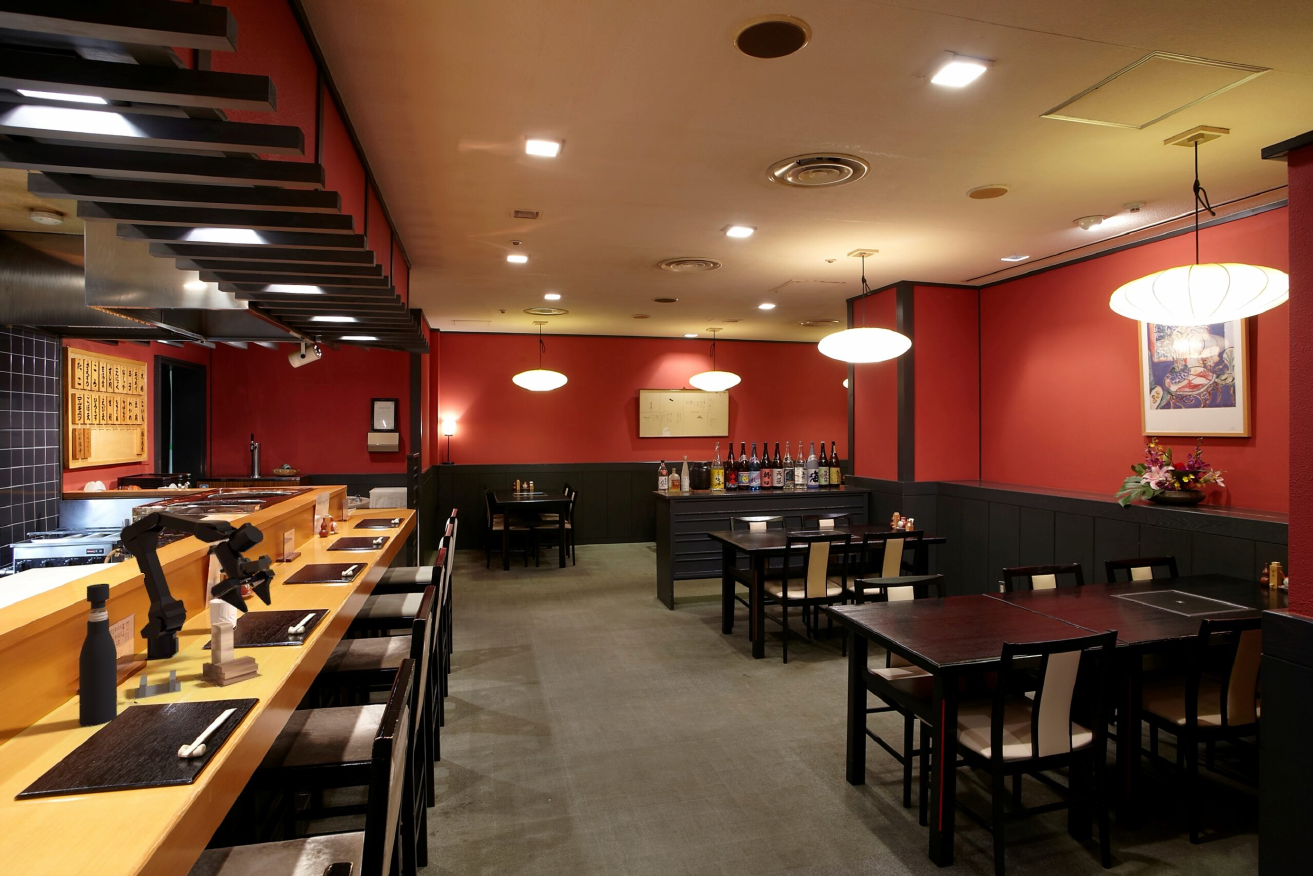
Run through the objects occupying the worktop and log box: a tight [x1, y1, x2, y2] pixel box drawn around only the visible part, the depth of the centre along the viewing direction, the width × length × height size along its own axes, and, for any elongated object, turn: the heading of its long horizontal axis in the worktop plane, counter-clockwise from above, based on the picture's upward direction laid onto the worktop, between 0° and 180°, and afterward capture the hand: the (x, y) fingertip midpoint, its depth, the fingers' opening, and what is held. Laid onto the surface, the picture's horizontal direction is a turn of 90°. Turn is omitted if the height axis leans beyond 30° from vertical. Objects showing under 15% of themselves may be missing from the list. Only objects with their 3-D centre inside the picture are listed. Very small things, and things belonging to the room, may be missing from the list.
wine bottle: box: [78, 583, 118, 727], centre depth 148 cm, size 6×6×30 cm
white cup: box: [208, 598, 238, 628], centre depth 218 cm, size 8×8×10 cm
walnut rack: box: [194, 662, 263, 688], centre depth 173 cm, size 14×10×4 cm
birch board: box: [210, 622, 235, 664], centre depth 174 cm, size 5×3×13 cm, turn 59°
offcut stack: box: [214, 655, 259, 685], centre depth 171 cm, size 5×8×4 cm, turn 149°
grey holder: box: [133, 669, 182, 704], centre depth 164 cm, size 9×9×4 cm
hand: (258, 608), depth 188 cm, fingers open, 9 cm apart
